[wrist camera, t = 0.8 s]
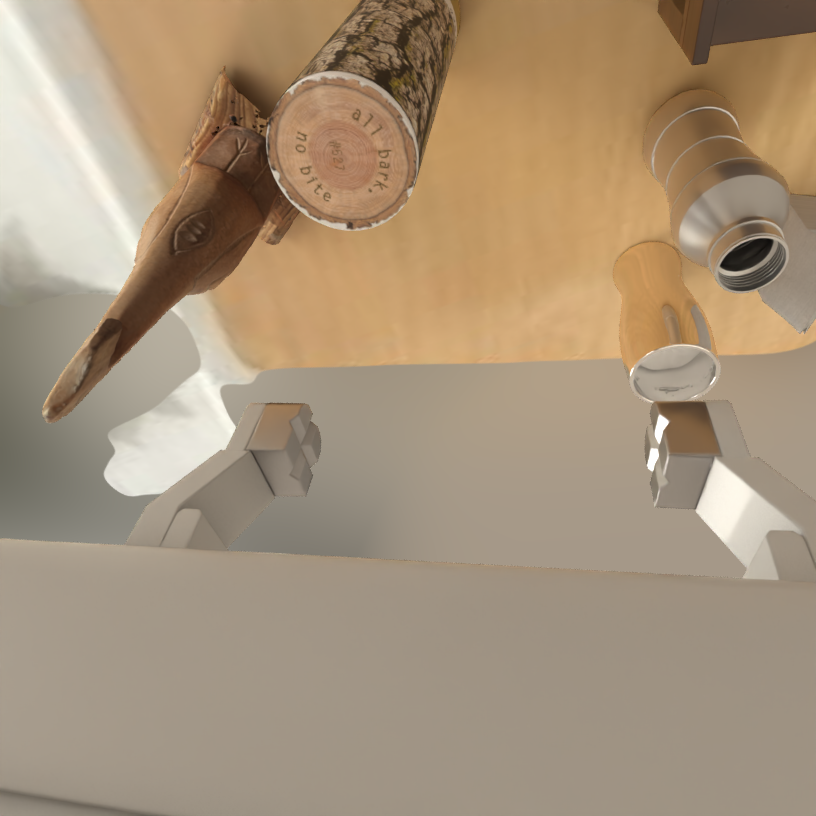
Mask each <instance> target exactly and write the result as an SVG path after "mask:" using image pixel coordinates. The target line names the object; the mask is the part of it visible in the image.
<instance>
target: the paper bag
mask: <svg viewBox="0 0 816 816" xmlns="http://www.w3.org/2000/svg"><path fill="white" fill-rule="evenodd" d="M782 232H783V235H784V240H785V242H786V244H787V245H788V249H789V260H788V263H787V265H786V267H785V269H784V271H783V272H782V273H781V275H780V276H779V277H778V278H776V279H775V280H774V281H773V282H771V283H770V284H769V285H767V286H765V287H763V288H761V289H758V292H759V295H760V297H761V299H762V301H763V302H764V303H765V304H767V305H768V306H769V307H770V308H772V309H773V310H774V311H775V312H776V313H778V314H779V315H780V316H781V317H783V318H784V319H785V320H786V321H787V322H788V323H789V324H790V325H792V326H793V327H794V328H795V329H796V331H797V332H798V333H799V334H800V333H801V332H802V331H803V332H804V334H805V333H806V331H807V330H808V329H809V327H810V326H811V324H812V323H813V322H814V320H815V319H816V197H815V196H805V195H796V194H790V209H789V215H788V219H787V222H786V224H785V226H784V228H783V230H782Z"/></svg>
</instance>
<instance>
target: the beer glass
mask: <svg viewBox="0 0 816 816" xmlns="http://www.w3.org/2000/svg"><path fill="white" fill-rule="evenodd" d="M613 281H614V283H615V286H616V287H617V289H618V291H619V292H620V294H621V299H622V304H621V314H620V324H619V342H620V350H621V355H622V359H623V363H624V367H625V370H626V373H627V376H628V380H629V385H630V388H631V390H632V392H633V393H634V394H635V395H636V396H637V397H638V398H640V399H641V400H643V401H645V402H648V403H651V404H653V402H654V401H693V400H695V399H697V398H699V397H701V396H703V395H704V394H706V393H707V392H708V391H709V390H710V389H712V387H713V386H714V385H715V384H716V382H717V381H718V379H719V376H720V372H721V366H720V362H719V359H718V354H717V349H716V345H715V340H714V337H713V333H712V330H711V327H710V324H709V322H708V320H707V317H706V315H705V313H704V311H703V310H702V308H701V307H700V305H699V303H698V302H697V301H696V299H695V298H694V296H693V295H692V294H691V292H690V291H689V290H688V288H687V287H686V286H685V284H684V283H683V281H682V264H681V259H680V256H679V254H678V253H677V251H676V250H675V249H674V248H673V247H671V246H670V245H668V244H665V243H662V242H645V243H641V244H638V245H635V246H633V247H631V248H630V249H628V250H627V251H625V252H624V253H623V254H622V255H621V256H620V257H619V259H618V260H617V262H616V263H615V266H614V269H613Z"/></svg>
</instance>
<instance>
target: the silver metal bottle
mask: <svg viewBox="0 0 816 816" xmlns="http://www.w3.org/2000/svg"><path fill="white" fill-rule="evenodd" d="M643 158H644V162H645V165H646V167H647V169H648V170H649V172H650V173H651V174H652V176H653V177H654V178H655V179H656V180H657V181H658V182H659V183H660V184H661V185H662V187H663V188H664V190H665V191H666V195H667V199H668V202H669V206H670V221H671V222H670V224H671V232H672V236H673V240H674V243H675V245H676V247H677V248H678V250H679V251H680V252H681V253H682V254H683V255H684V256H686V257H687V258H688V259H689V260H691V261H692V262H694V263H696V264H698V265H700V266H704V267H709V269H710V271H711V272H712V274H713V275H714V277H715V279H716V281H717V283H718V284H719V285H720V287H722V288H723V289H724V290H726V291H729V292H733V293H748V292H752V291H756V290H758V289H761V288H763V287H765V286H767V285H769V284H770V283H771V282H773V281H774V280H775V279H776V278H778V277H779V276H780V275H781V273H782V272H783V271H784V269H785V267H786V265H787V263H788V260H789V249H788V245H787V244H786V242H785V240H784V235H783V232H782V230H783V228H784V226H785V224H786V222H787V219H788V215H789V209H790V193H789V189H788V185H787V183H786V181H785V179H784V178H783V176H781V175H780V174H779V172H778V171H777V170H775V169H774V168H773V167H772V166H771V165H769V164H768V163H767V162H765V161H764V160H762V159H761V158H760V157H758V156H757V155H755V154H754V153H753V152H752V151H751V150H750V148H748V147H747V145H746V144H745V143H744V141H743V138H742V136H741V134H740V128H739V122H738V119H737V115H736V112H735V109H734V108H733V106H732V104H731V103H730V102H729V101H728V100H727V99H726V98H725V97H723V96H721V95H719V94H717V93H715V92H713V91H709V90H705V89H694V90H689V91H685V92H683V93H680V94H678V95H676V96H674V97H673V98H671V99H669V100H668V101H667V102H665V103H664V104H663V105H662V106H661V107H660V108H659V109H658V110H657V111H656V112H655V114H654V115H653V117H652V118H651V120H650V121H649V123H648V126H647V128H646V131H645V134H644V140H643Z"/></svg>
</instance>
